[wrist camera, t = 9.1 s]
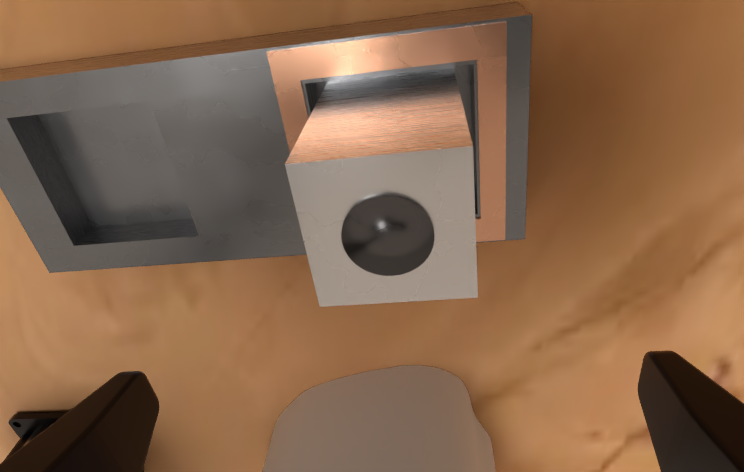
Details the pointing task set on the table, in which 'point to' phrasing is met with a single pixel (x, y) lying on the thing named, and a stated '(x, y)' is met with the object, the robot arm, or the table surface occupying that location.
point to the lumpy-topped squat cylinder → (382, 426)
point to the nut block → (387, 191)
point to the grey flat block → (237, 136)
